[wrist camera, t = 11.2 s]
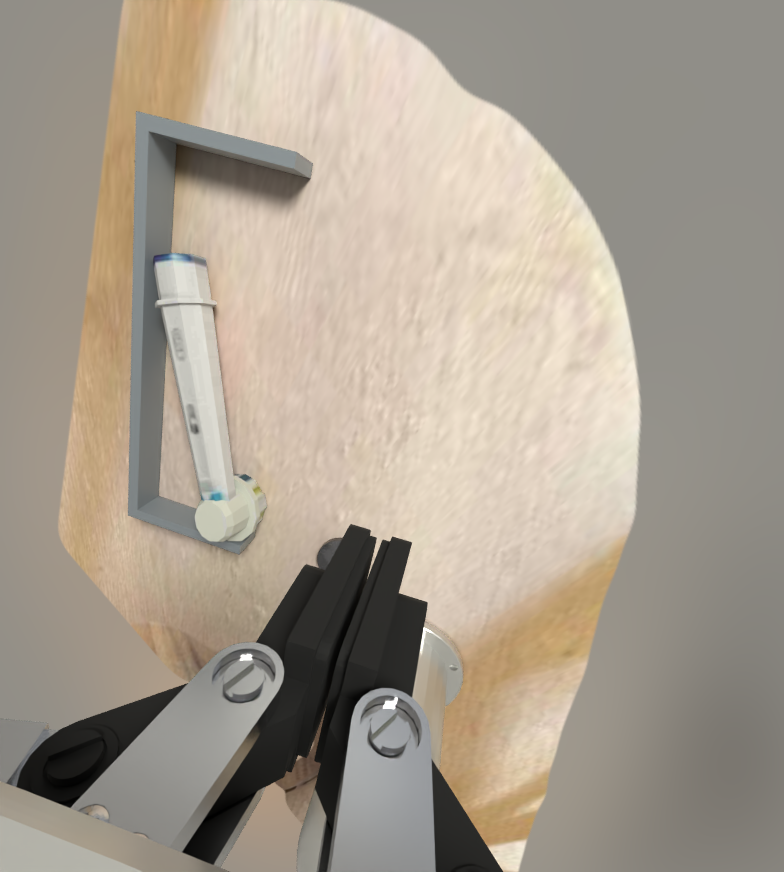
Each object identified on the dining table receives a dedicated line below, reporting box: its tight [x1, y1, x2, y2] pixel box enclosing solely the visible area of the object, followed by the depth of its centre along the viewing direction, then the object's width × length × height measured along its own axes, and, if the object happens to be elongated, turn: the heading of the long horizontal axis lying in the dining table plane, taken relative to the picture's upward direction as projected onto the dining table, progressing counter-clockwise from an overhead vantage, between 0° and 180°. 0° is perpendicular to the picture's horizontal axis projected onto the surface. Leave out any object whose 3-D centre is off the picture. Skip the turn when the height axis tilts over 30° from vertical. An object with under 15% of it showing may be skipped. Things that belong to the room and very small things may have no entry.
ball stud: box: [318, 538, 343, 570], centre depth 40 cm, size 5×5×7 cm
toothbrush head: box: [153, 253, 267, 542], centre depth 38 cm, size 5×7×25 cm
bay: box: [128, 111, 313, 554], centre depth 37 cm, size 34×12×3 cm, turn 166°
